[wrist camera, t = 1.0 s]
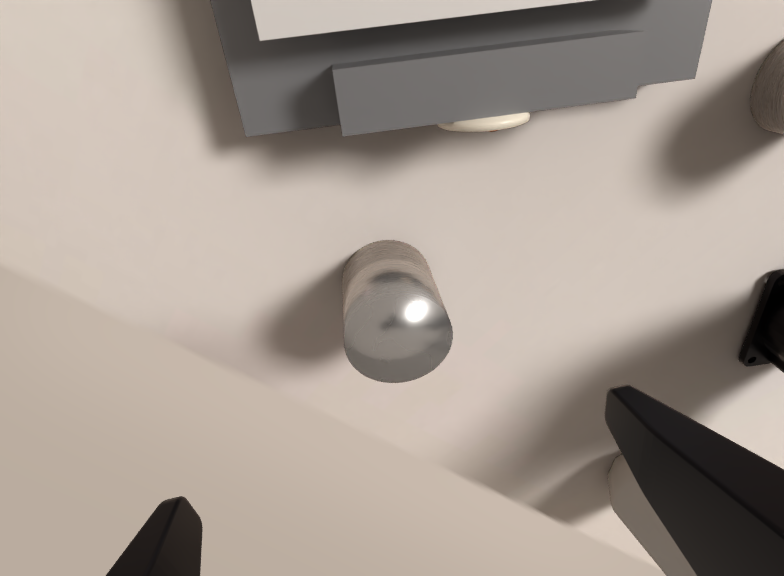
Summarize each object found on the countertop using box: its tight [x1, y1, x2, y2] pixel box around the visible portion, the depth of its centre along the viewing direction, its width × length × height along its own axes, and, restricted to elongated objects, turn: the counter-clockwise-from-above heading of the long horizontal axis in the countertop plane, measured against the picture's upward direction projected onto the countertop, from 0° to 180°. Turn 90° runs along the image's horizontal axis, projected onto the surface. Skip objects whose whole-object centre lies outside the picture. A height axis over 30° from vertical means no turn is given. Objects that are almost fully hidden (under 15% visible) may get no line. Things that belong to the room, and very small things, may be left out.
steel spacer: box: [342, 240, 453, 383], centre depth 21 cm, size 4×4×5 cm
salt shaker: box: [608, 454, 697, 576], centre depth 27 cm, size 6×6×13 cm
